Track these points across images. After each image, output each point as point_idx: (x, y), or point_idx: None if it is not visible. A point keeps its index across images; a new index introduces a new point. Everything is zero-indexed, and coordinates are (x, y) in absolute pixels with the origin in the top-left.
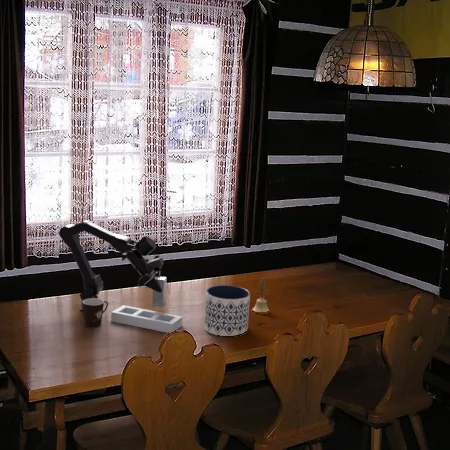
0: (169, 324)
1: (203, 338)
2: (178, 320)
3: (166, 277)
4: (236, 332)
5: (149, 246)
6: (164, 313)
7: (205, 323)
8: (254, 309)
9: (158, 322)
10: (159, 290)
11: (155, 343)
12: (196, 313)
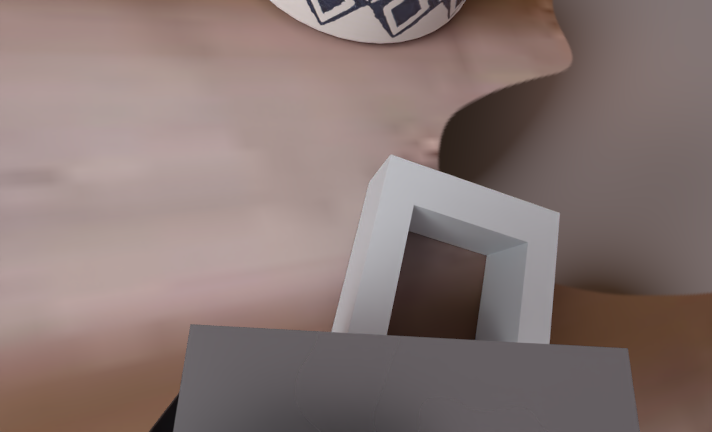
0: (554, 234)
1: (515, 57)
2: (456, 180)
3: (239, 329)
4: None
5: None
6: (358, 315)
7: (429, 11)
8: None
9: (545, 325)
10: None
11: (673, 299)
12: (71, 94)
